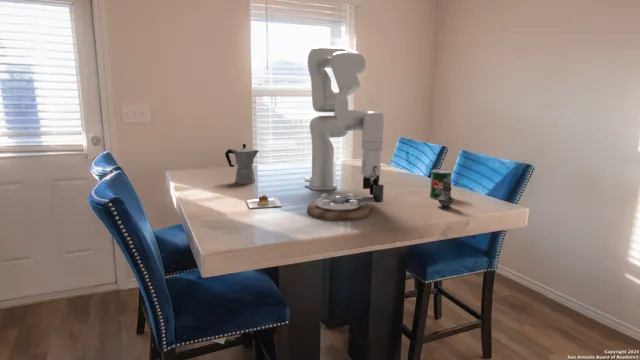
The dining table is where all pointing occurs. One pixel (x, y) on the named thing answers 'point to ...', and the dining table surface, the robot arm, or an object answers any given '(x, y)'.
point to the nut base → (338, 213)
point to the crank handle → (348, 200)
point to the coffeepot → (243, 164)
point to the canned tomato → (438, 182)
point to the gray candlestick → (446, 195)
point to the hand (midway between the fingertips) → (370, 191)
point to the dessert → (263, 202)
